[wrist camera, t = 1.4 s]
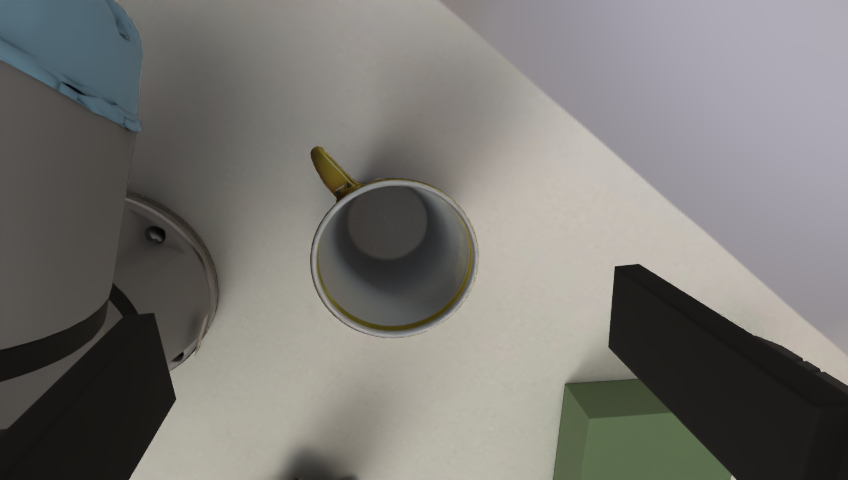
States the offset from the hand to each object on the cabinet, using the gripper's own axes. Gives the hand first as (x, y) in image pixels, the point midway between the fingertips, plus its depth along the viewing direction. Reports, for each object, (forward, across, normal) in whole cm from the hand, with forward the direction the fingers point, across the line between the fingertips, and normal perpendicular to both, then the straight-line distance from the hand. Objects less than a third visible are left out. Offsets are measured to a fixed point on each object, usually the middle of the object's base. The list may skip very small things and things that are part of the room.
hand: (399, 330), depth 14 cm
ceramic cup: (+24, 0, -2) cm, 24 cm away
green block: (+24, +23, -29) cm, 44 cm away
